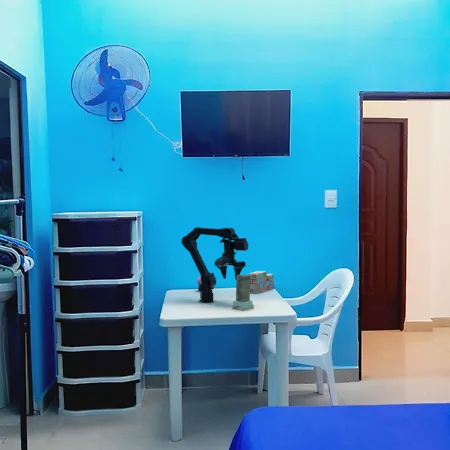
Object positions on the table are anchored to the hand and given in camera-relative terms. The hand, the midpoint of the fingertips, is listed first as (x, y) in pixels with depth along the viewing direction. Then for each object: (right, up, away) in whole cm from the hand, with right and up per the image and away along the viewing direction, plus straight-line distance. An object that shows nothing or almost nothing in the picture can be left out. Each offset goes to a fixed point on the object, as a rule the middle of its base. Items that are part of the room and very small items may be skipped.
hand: (230, 279), depth 250 cm
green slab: (+6, -12, -12) cm, 18 cm away
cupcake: (-16, -12, +38) cm, 43 cm away
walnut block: (+6, -10, -12) cm, 17 cm away
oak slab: (+6, -14, -12) cm, 20 cm away
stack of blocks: (+20, -12, +35) cm, 42 cm away
